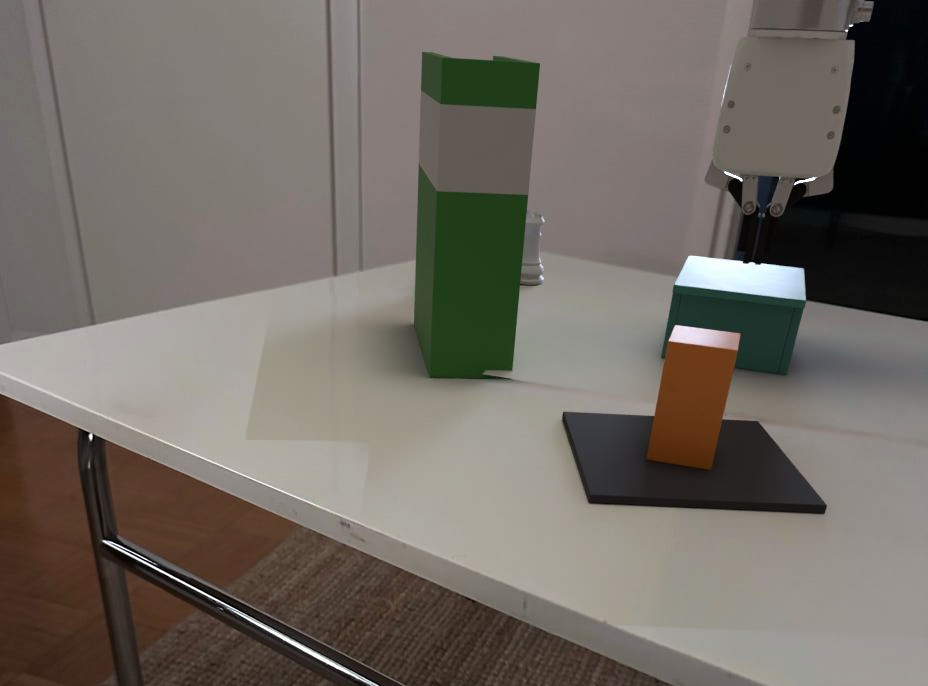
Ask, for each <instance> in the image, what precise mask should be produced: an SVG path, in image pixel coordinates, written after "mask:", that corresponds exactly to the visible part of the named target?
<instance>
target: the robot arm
mask: <svg viewBox="0 0 928 686" xmlns="http://www.w3.org/2000/svg"><path fill="white" fill-rule="evenodd" d="M874 4H875V1H871V0H870V1H869V0H754V5H753V11H752V16H751V22H750V23H751V24H750V29H749V34H748V36H740V37H739V40H738V42H737V44H736V47H735V51H734V53H733V56H732V60H731V63H730V67H729V71H728V74H727V79H726V81H725V82H726V83H725V87H724V91H723V95H722V100H721V105H720V109H719V115H718V118H717V124H716V125H717V126H716V130H715V132H714V133H715V134H714V140H713V146H712V158H711V161H710V163H709V166H708V169H707V171H706V174H705V177H704V182H705V184H706V185H708V186H711V187H714V188H716V189H719V190H721V191H725V192H728V193H730V195H731V196H732V198H733V200H734V201H735V202H736V203H737V205H738V207H739V208H740V209H741V212H742V213H743V217H742V222H741V228H740V233H739V239H738V244H737V249H736V250H737V252H739V253H740V252H741V253H744V255H743V260H742V261H743V263H744V264H749V262H750V263H755V265H761V264H762V260H763V257H764V256H763V255H772V252H773V248H774V243H775V238H776V233H777V228H778V224H779V218H780V216H782V215H783V214H784V213H785V212H786V211H787V210H789V209H790V208H791V207H792V206H793V205H794V204H796V203H797V202H799V201H800V200H801V199H802V198H807V197H813V196H818V195H824V194H829V193H830V192H831V191H833V189H834V167H835V163H836V161H837V156H838V153H839V150H840V146H841V141H842V136H843V131H844V126H845V125H844V124H845V121H846V115H847V110H848V104H849V98H850V92H851V83H852V76H853V70H854V64H855V63H854V62H855V49H856V48H855V45H856V43H855V42H856V41H855V40H854V39H847V36H848V31H849V30H850V27H853V26H854V24H860V22H863V23H864V22H865V23H870V20H871V17H872V14H873V9H874ZM734 174H735V175H734ZM736 175H742V178H741V176H736ZM759 176H761V177H762V176H763V177H778V178H779V179H778V181H777V185H776V187H775V190H774V192H773V196H772V198H771V201H770V203H768V204H767V205H766V208H765V211H764V213H762V214H761V212H760V208H761V205H760V203H759V202H758V193H759V191H758V190H759ZM796 179H803V180H797V181H796ZM804 179H805V180H804ZM759 225H760V226H759ZM758 229H759V230H758ZM753 254H754V255H753Z"/></svg>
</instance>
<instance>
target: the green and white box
mask: <svg viewBox="0 0 928 686" xmlns="http://www.w3.org/2000/svg"><path fill="white" fill-rule="evenodd" d="M540 70H541V63H540V62H536V61H529V60H524V59H519V58H514V57H509V56H502V55H492V59H478V58H477V59H475V58H460V57H452V56H447V55H445V54H441V53H437V52H433V51H421V73H420V75H421V78H420V105H419V106H420V107H419V108H420V109H419V110H420V111H419V137H418V138H419V139H418V140H419V141H418V174H417V175H418V177H417V204H416V205H417V207H416V208H417V209H416V239H415V240H416V241H415V242H416V244H415V270H414V271H415V272H414V273H415V275H414V277H415V278H414V303H413V304H414V307H413V308H414V309H413V325H414V329H415V332H416V336H417V340H418V344H419V346H420V350H421V353H423V354H422V356H423V360H424V363H426V364H425V367H426V371H427V374H428V376H429V377H431V378H433V379H434V378H435V377H437V378H439V379H489V380H491V379H492V378H493V379H497V380H499V379H500V380H512V378H510V377H505V376H497V375H489V374H485V372H486V371H512V372H513V369H514V368H513V367H514V358H515V346H516V337H517V336H516V335H517V334H516V333H517V325H518V324H517V323H518V315H519V314H518V313H519V303H520V300H519V299H520V290H521V284H520V281H521V270H522V259H523V248H524V237H525V226H526V215H527V210H528V204H529V203H528V202H529V192H530V181H531V170H532V159H533V148H534V147H533V146H534V136H535V126H536V125H535V124H536V114H537V104H538V103H537V102H538V94H539V93H538V92H539V80H540ZM435 379H436V378H435ZM493 379H492V380H493Z"/></svg>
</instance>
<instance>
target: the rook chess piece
mask: <svg viewBox="0 0 928 686" xmlns="http://www.w3.org/2000/svg"><path fill="white" fill-rule="evenodd" d="M543 215H544V212H542V211H538V210H533V211H532V213H531V210H530V209H527V215H526V226H525V237H524V248H523V259H522V270H521V281H520V285H523V286H537V285H540V284H542V282H543V281H544V277H543V276H542V275H543V274H544V273H545V269H544V266H543V265H542V260H541V256H540V239H541V237H542V233H541V228H542V227H543V225H544V224H545V223H546V221H545V219H544V217H543Z"/></svg>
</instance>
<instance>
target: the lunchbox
mask: <svg viewBox="0 0 928 686" xmlns="http://www.w3.org/2000/svg"><path fill="white" fill-rule="evenodd" d="M669 306H670V307H669V311H668V317H667V322H666V329H665V333H664V340H663V344H662V351H661V357H660V359H664V360H665V355H666V350H667V344H668V340H669V338H670V336H671V333H672V331H673V328H674V326H675V325H680V326H687V327H695V328H703V329H710V330H718V331H726V332H733V333H740V334H741V336H740V341H739V347H738V352H737V357H736V361H735V366H734V369H735V370H736V369H738V370H743V371H744V370H745V371H752V372H759V373H766V374H772V375H779V376H780V375H781V376H787V375H788V371H789V367H790V364H791V360H792V357H793V352H794V348H795V345H796V340H797V337H798V334H799V333H798V332H799V328H800V325H801V321H802V317H803V313H804V310H805V308H804V309H802V308H793V307H785V306H777V305H769V304H761V303H753V302H745V301H736V300H728V299H720V298H712V297H704V296H696V295H688V294H680V293H673V292H672V295H671V301H670V305H669Z"/></svg>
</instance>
